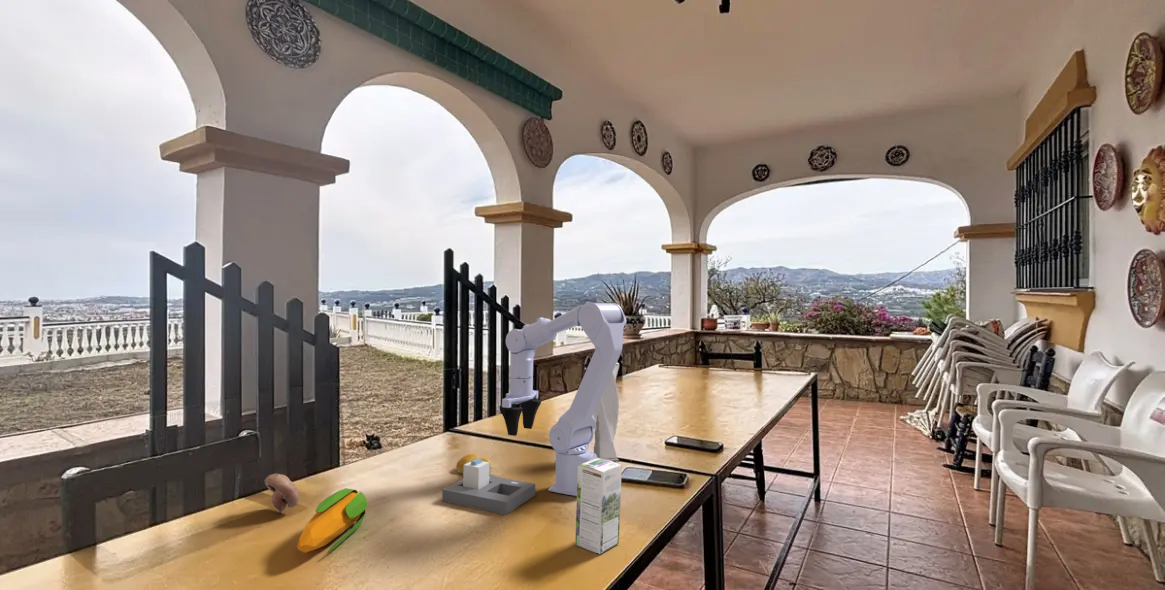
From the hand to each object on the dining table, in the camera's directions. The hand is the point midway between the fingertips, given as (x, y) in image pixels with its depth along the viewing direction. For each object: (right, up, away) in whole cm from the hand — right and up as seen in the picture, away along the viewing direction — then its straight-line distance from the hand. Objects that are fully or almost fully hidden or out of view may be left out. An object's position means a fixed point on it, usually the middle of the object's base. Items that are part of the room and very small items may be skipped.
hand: (520, 431), depth 131 cm
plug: (-8, -10, -15) cm, 20 cm away
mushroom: (-45, -10, -26) cm, 53 cm away
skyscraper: (+21, -11, +14) cm, 28 cm away
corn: (-29, -10, -38) cm, 48 cm away
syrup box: (+18, -11, -38) cm, 43 cm away
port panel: (-5, -10, -17) cm, 20 cm away
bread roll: (-12, -11, +1) cm, 16 cm away
